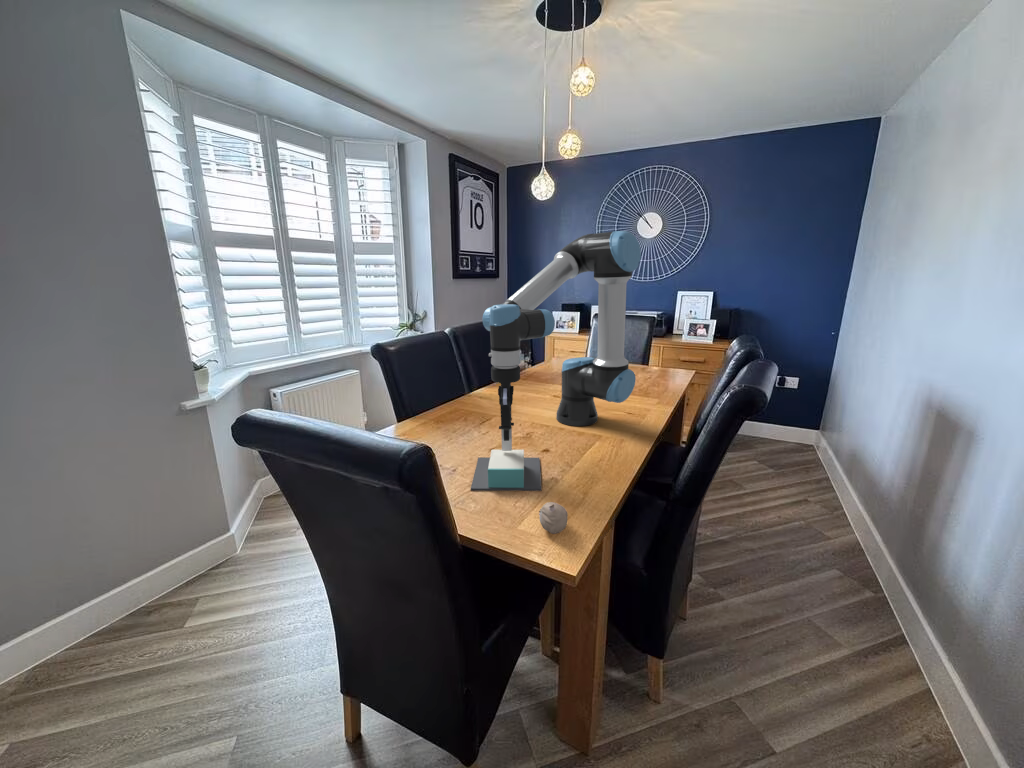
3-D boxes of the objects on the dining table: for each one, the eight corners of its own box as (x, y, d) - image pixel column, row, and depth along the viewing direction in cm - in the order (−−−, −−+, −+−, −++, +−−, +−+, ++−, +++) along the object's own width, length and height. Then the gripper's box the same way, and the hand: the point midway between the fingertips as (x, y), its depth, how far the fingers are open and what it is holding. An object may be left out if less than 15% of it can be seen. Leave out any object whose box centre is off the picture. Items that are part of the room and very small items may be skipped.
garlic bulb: (532, 530, 89) (532, 497, 86) (550, 517, 93) (550, 485, 91) (557, 543, 84) (558, 508, 82) (574, 528, 89) (576, 495, 87)
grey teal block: (523, 449, 115) (523, 469, 103) (523, 466, 116) (523, 487, 105) (491, 449, 115) (487, 469, 104) (492, 465, 117) (488, 487, 105)
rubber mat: (539, 459, 122) (539, 457, 121) (541, 490, 104) (541, 488, 104) (478, 459, 122) (478, 457, 122) (470, 490, 105) (470, 488, 105)
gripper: (493, 360, 113) (495, 440, 119) (488, 371, 100) (491, 460, 107) (520, 360, 113) (521, 440, 119) (519, 371, 100) (520, 460, 106)
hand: (506, 449), depth 113 cm, fingers closed
